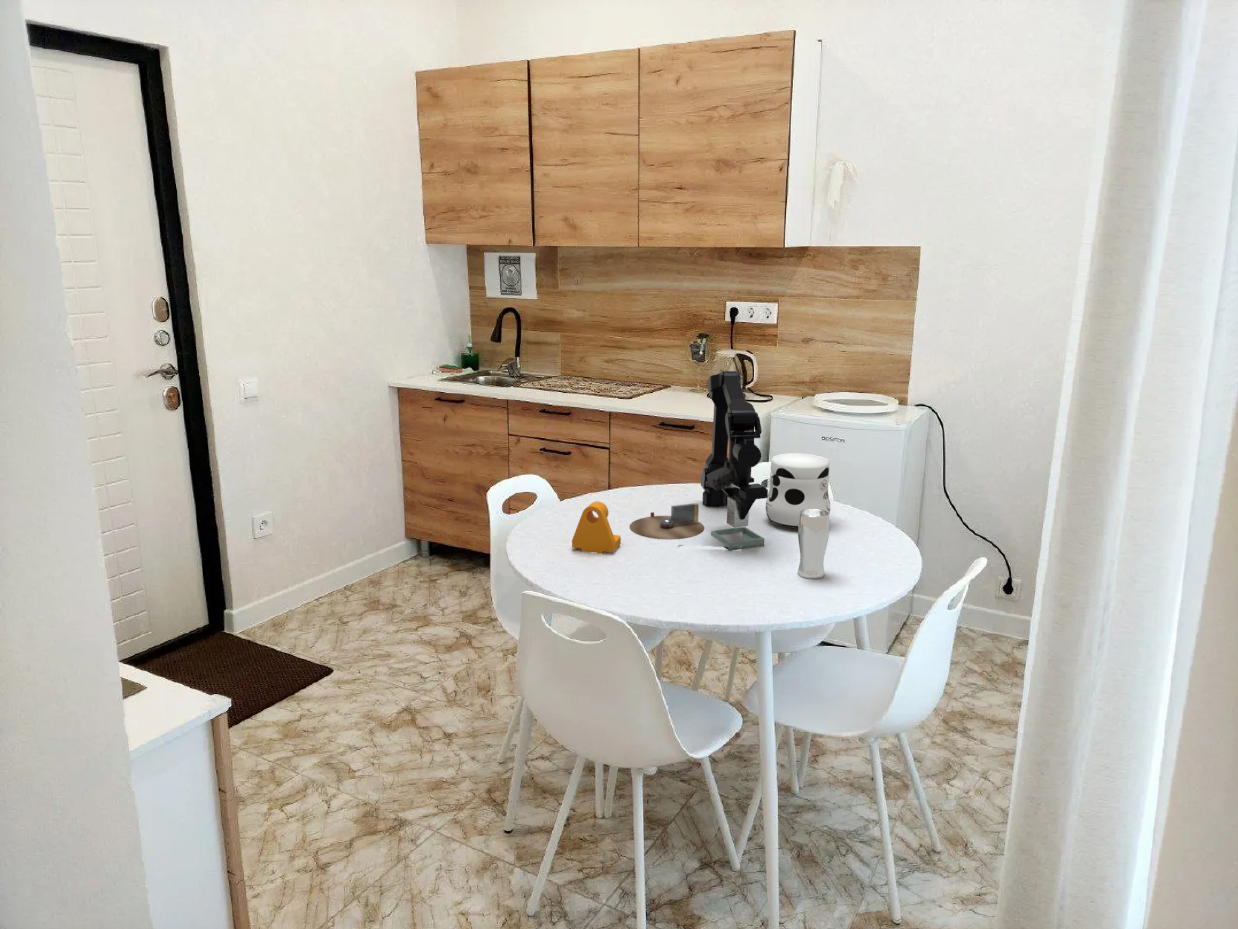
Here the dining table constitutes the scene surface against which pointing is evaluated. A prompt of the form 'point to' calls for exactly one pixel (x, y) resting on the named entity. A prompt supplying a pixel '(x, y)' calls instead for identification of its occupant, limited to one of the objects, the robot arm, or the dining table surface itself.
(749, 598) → the dining table surface
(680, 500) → the dining table surface
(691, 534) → the base
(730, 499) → the block
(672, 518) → the crank
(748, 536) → the tray
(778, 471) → the milk container
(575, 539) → the bracket
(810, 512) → the beer glass
